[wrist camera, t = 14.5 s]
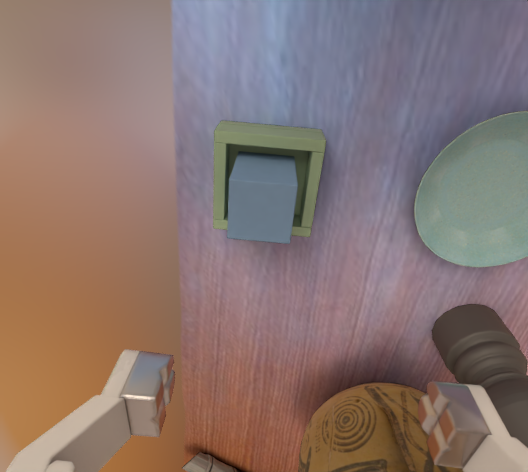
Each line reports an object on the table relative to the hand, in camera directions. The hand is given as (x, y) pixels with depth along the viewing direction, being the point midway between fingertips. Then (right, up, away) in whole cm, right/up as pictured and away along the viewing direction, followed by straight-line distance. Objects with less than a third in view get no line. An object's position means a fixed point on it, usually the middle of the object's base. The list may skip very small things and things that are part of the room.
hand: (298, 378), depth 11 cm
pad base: (-1, +9, +16) cm, 18 cm away
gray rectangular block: (-1, +9, +15) cm, 17 cm away
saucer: (+16, +8, +16) cm, 24 cm away
